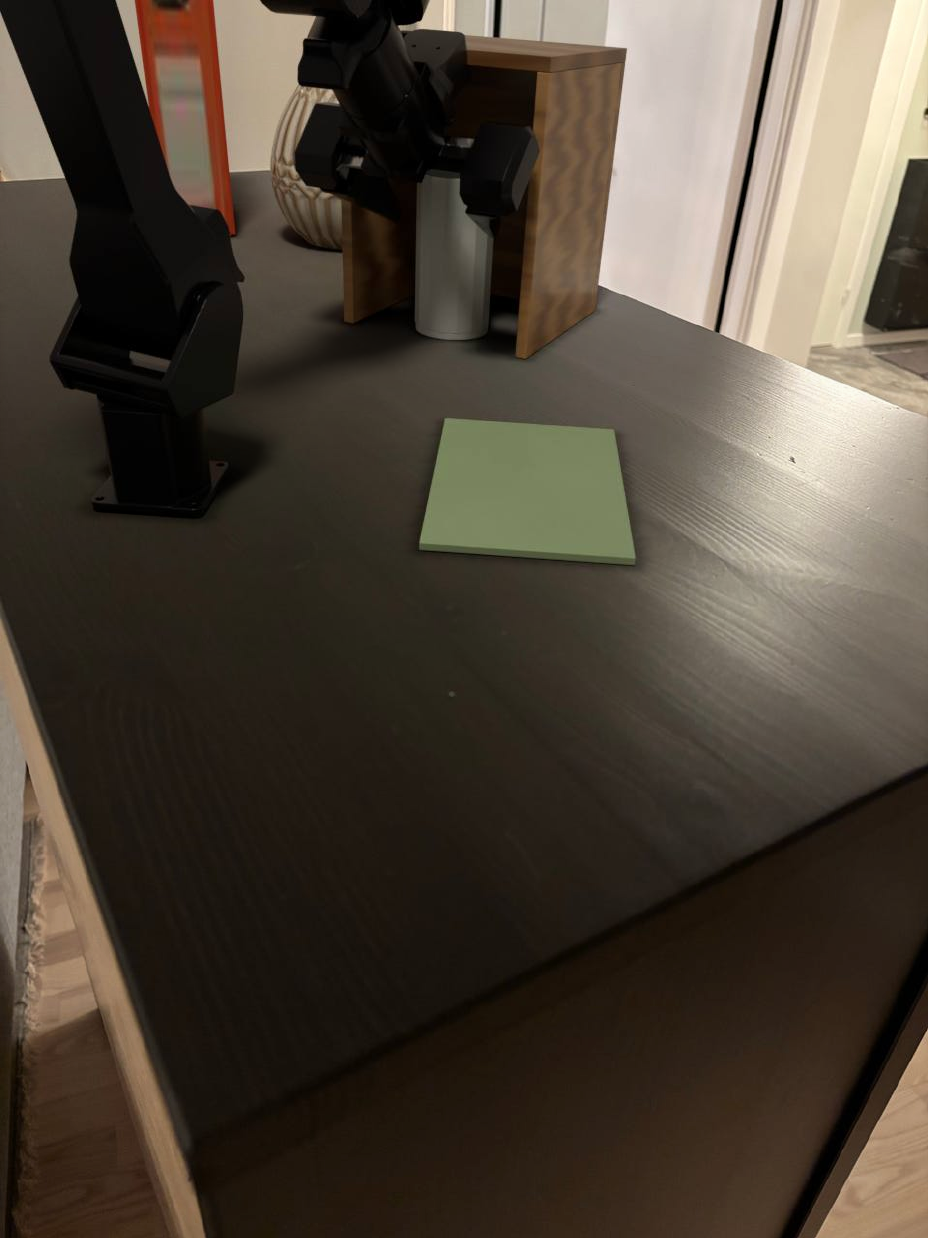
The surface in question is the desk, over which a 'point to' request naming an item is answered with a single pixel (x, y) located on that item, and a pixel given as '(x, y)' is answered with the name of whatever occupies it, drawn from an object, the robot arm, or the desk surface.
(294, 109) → the vase
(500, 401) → the desk surface
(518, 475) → the mat
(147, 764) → the desk surface
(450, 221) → the container
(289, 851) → the desk surface
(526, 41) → the cubby cabinet
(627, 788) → the desk surface
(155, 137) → the robot arm
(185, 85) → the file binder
